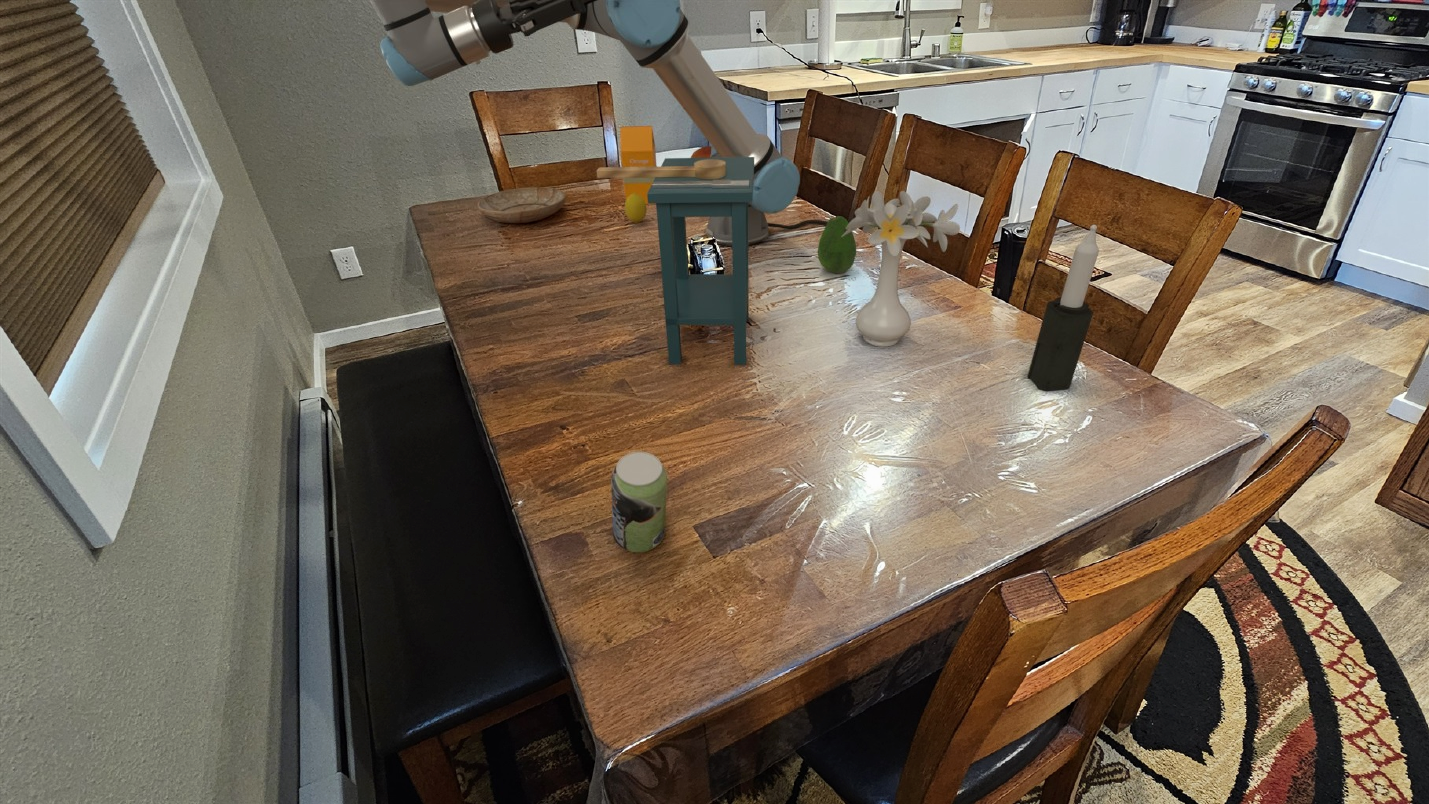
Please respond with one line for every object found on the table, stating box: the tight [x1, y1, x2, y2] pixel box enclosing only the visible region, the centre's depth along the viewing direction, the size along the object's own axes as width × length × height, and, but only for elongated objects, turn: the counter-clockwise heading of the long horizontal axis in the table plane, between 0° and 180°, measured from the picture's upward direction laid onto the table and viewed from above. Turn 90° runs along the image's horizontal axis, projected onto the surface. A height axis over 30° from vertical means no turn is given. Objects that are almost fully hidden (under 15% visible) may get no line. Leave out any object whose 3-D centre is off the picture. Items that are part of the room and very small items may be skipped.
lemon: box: [624, 193, 647, 225], centre depth 169 cm, size 6×6×8 cm
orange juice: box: [619, 125, 658, 205], centre depth 183 cm, size 8×9×20 cm
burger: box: [690, 145, 712, 158], centre depth 200 cm, size 13×14×10 cm
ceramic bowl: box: [477, 186, 567, 224], centre depth 178 cm, size 23×24×5 cm
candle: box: [1027, 224, 1100, 392], centre depth 96 cm, size 5×5×25 cm
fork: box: [653, 180, 749, 189], centre depth 96 cm, size 14×2×1 cm, turn 86°
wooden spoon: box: [596, 159, 726, 179], centre depth 101 cm, size 20×5×2 cm, turn 86°
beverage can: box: [610, 451, 668, 553], centre depth 74 cm, size 6×7×12 cm
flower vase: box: [841, 190, 961, 348], centre depth 109 cm, size 13×18×25 cm
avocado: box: [817, 215, 857, 274], centre depth 138 cm, size 8×8×12 cm
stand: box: [647, 157, 754, 366], centre depth 110 cm, size 15×20×29 cm
